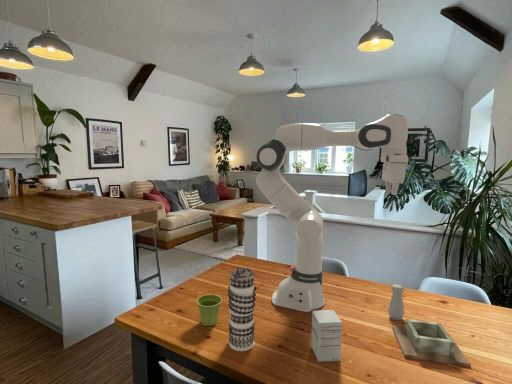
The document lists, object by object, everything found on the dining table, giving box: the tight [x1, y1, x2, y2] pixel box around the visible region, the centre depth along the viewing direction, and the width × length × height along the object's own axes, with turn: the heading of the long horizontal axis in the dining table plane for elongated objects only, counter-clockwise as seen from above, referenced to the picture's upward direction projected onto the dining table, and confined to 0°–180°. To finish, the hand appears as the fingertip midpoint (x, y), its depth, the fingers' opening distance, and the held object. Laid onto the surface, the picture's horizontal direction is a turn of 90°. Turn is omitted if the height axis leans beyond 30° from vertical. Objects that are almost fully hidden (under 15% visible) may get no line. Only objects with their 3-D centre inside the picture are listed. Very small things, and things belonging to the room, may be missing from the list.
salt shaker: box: [387, 283, 405, 321], centre depth 111 cm, size 6×6×13 cm
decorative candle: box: [227, 267, 257, 352], centre depth 94 cm, size 9×9×25 cm
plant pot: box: [195, 293, 223, 327], centre depth 107 cm, size 9×9×9 cm
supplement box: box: [310, 309, 343, 362], centre depth 90 cm, size 7×7×13 cm
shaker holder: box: [391, 318, 472, 368], centre depth 95 cm, size 18×16×6 cm
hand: (391, 193), depth 112 cm, fingers open, 8 cm apart
